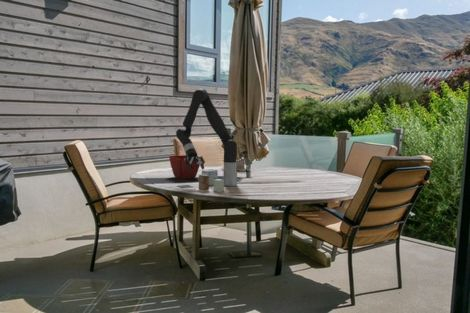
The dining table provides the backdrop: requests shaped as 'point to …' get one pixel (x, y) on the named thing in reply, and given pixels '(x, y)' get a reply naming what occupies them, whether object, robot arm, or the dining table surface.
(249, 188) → the dining table surface
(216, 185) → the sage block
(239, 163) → the cookie jar
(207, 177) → the walnut block
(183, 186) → the slate coaster
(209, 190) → the lettered tile
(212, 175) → the light bulb box
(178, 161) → the plant pot
